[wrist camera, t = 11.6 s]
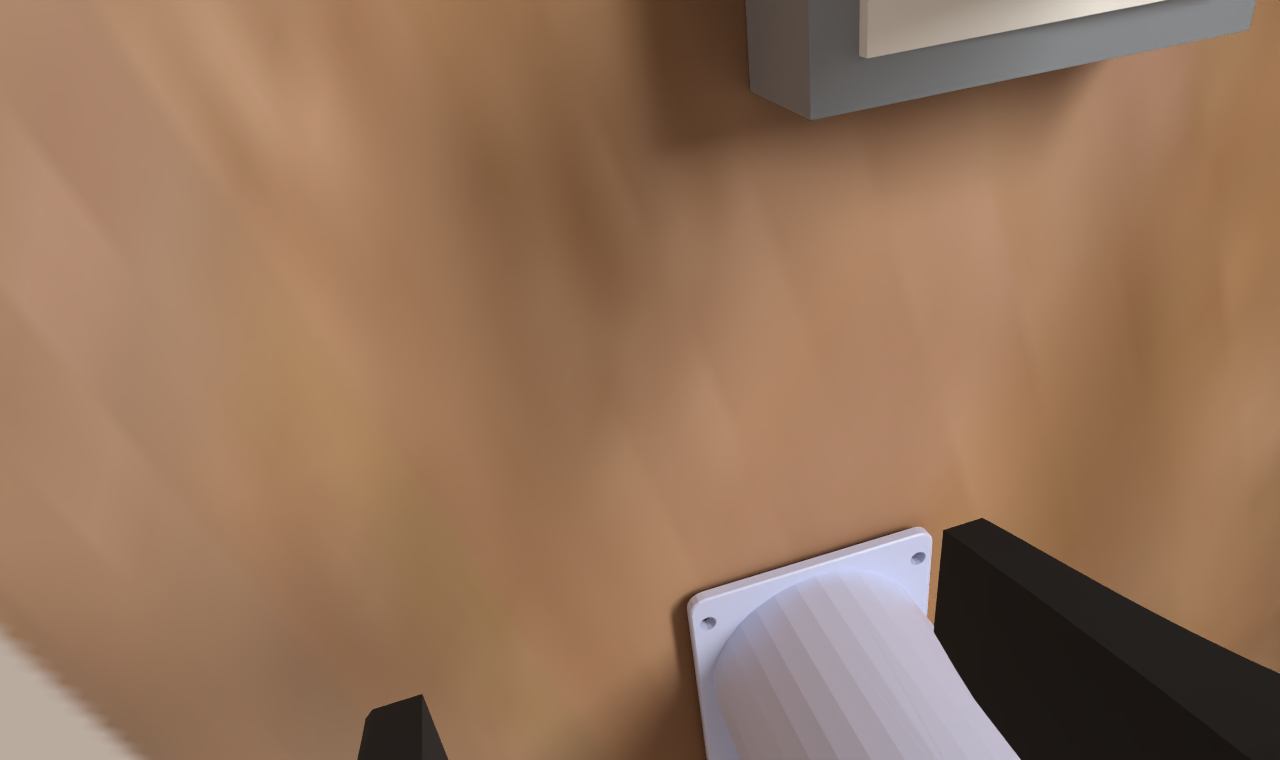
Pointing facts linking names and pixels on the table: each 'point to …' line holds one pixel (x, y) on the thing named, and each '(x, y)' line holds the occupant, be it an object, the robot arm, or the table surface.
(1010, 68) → the plinth
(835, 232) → the table surface
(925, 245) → the table surface
